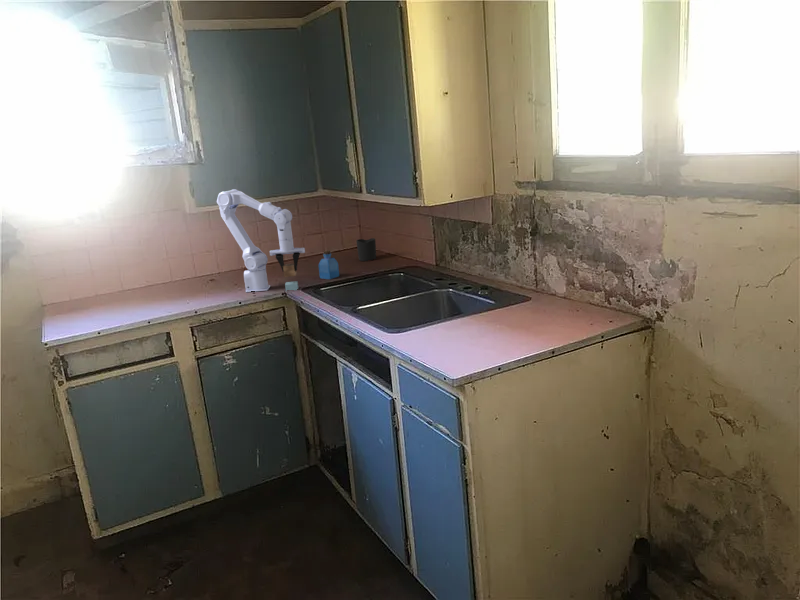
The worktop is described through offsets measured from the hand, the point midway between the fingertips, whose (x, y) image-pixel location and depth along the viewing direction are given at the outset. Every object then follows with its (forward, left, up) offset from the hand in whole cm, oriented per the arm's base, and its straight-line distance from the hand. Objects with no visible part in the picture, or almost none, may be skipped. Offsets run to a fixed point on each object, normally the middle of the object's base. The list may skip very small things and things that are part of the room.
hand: (289, 270), depth 276 cm
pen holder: (+30, +51, -8) cm, 60 cm away
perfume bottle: (+14, +18, -8) cm, 24 cm away
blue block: (0, 0, -8) cm, 8 cm away
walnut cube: (0, 0, -2) cm, 2 cm away
